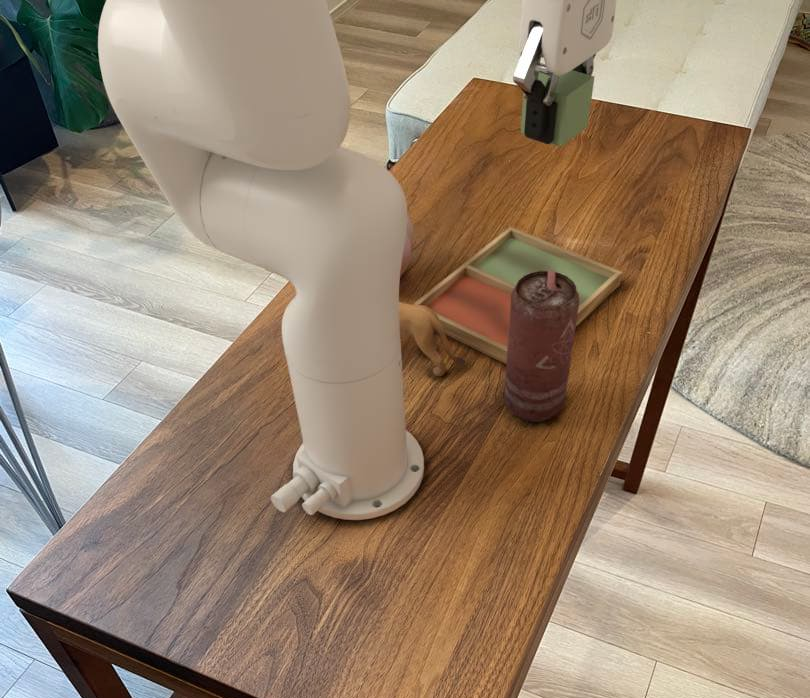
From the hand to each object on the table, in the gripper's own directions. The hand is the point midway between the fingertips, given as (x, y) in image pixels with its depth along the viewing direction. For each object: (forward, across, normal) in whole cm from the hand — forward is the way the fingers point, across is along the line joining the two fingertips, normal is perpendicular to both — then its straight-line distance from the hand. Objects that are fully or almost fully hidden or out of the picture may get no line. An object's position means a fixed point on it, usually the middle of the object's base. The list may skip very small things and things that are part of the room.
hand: (554, 126), depth 85 cm
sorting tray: (+17, -7, -2) cm, 18 cm away
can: (+17, -19, -12) cm, 29 cm away
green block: (0, 0, 0) cm, 0 cm away
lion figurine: (+17, -22, +4) cm, 28 cm away
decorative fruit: (+17, -13, +14) cm, 26 cm away
